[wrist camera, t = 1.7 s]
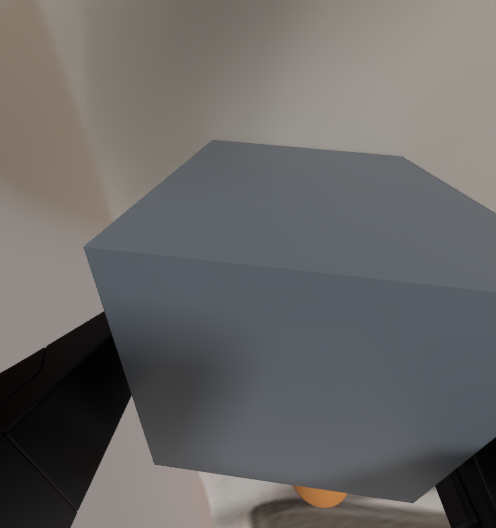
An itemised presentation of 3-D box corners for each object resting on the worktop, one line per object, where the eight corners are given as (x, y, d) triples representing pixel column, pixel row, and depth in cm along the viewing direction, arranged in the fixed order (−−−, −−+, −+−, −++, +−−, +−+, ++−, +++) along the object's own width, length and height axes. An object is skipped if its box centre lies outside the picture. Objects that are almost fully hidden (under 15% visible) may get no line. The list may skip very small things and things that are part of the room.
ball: (352, 421, 22) (368, 500, 18) (337, 448, 25) (348, 521, 21) (291, 413, 22) (293, 488, 18) (283, 441, 25) (283, 511, 21)
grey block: (402, 156, 11) (653, 309, 4) (349, 300, 15) (412, 503, 8) (212, 140, 11) (83, 246, 4) (214, 285, 15) (154, 464, 8)
